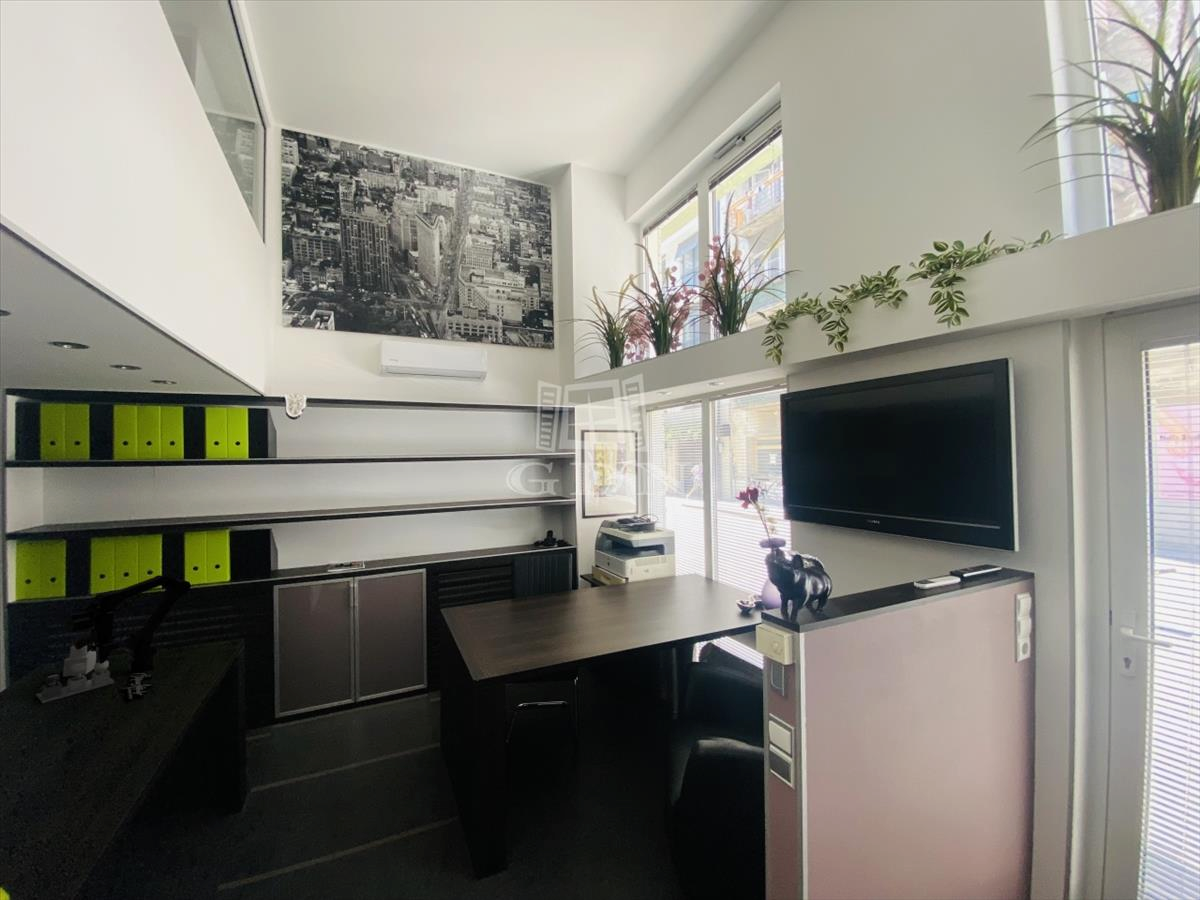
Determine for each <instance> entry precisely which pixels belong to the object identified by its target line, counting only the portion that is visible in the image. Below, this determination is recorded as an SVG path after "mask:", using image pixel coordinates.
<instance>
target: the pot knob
mask: <svg viewBox="0 0 1200 900" xmlns="http://www.w3.org/2000/svg"><path fill="white" fill-rule="evenodd" d="M59 680H60V674H57V673H56V674H52V675H47V676H46V678H45V683H46V684H49V686H48V687H52V686H56V682H59Z"/></svg>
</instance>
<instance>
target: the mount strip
mask: <svg viewBox="0 0 1200 900" xmlns="http://www.w3.org/2000/svg"><path fill="white" fill-rule="evenodd" d="M110 676H111V671H110V670H108V668H107V669H105V670H104V673H102V674H98V671H94V672H92V673H91V679H88V680H87V677H86V676H85V674H84V675H81V679H79V680H75V681H74V677H71V678H68V679H67V685H65V686H63V684H62V683H61V682H60V681H56V686H52V687H48V686H49V683H46V684H44V685H42V686H41V692H40V693H36V697H37V699H38V698H39V699H38V700H39V701H40V703H42V704H44V703H47V702H51V701H56V700H58V699H61V698H65V697H66V698H67V697H68V696H72V695H75V694H80V693H83V692H86V691H90V690H95V689H98V688H102V687H106V686H108V685H109V686H110V685H112V684H115V680H114V679H112V678H111V677H110Z"/></svg>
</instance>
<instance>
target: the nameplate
mask: <svg viewBox="0 0 1200 900" xmlns="http://www.w3.org/2000/svg"><path fill="white" fill-rule="evenodd" d="M152 679H153V675H151V674H148V673H145V672H144V673H143V672H139V673H134V674H133V673H130V674H129V676H128V685H129V687H124V688H123V687H122V688H119V689H118V694H120V693H126V696H127V697H126V698H127V702H128V703H132V702H133V701H134V698H136V699H137V698H139V699H144V698H145V696H146V695H147V694H148V689H150V690H151V689H153V688H154V684H150V683H149V684H143V683H144V682H145V681H148V680H152Z"/></svg>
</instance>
